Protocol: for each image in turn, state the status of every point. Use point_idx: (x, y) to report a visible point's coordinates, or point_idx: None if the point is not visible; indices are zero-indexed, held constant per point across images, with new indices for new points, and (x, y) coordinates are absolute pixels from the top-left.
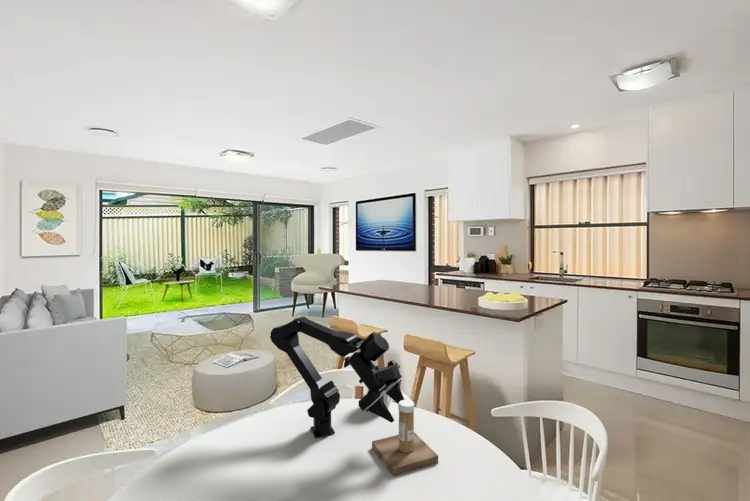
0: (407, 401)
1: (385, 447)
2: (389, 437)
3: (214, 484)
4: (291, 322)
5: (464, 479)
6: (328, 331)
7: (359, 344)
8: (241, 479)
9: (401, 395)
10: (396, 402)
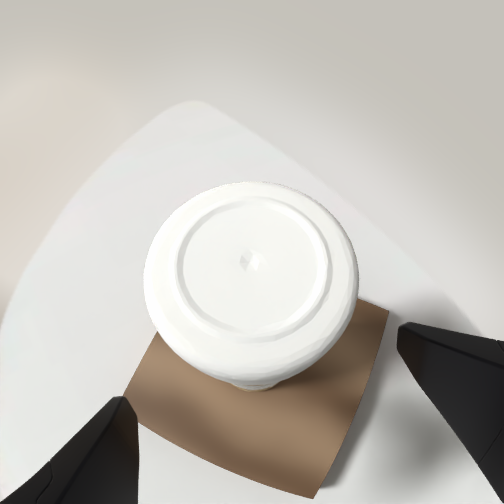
0: (205, 271)
1: (310, 430)
2: (231, 467)
3: None
4: None
5: (236, 172)
6: None
7: None
8: None
9: (67, 465)
10: (137, 498)
